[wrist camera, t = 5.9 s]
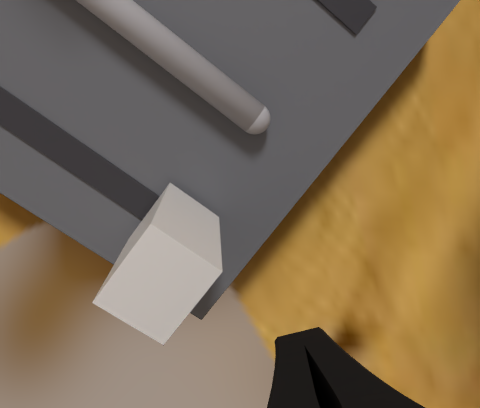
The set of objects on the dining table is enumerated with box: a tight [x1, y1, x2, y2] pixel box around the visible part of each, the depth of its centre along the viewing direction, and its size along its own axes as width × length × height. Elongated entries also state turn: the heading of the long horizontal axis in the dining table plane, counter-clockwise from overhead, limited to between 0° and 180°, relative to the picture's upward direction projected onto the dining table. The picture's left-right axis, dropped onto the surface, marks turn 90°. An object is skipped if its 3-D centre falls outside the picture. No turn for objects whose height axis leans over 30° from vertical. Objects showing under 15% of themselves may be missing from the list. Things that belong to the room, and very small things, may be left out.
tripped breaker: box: [93, 183, 223, 345], centre depth 12 cm, size 2×2×4 cm
